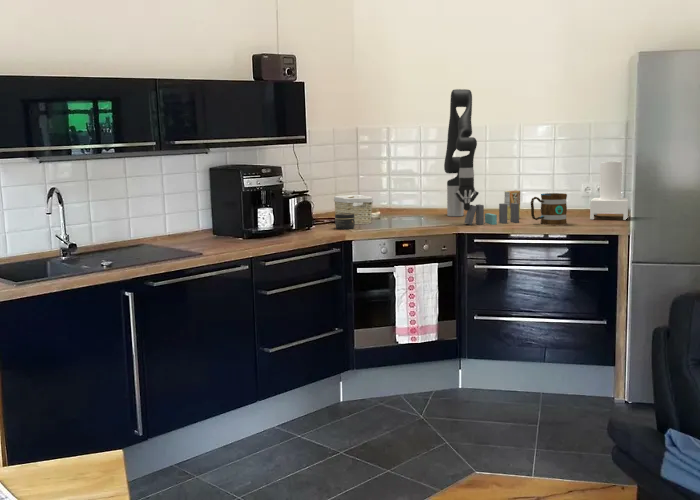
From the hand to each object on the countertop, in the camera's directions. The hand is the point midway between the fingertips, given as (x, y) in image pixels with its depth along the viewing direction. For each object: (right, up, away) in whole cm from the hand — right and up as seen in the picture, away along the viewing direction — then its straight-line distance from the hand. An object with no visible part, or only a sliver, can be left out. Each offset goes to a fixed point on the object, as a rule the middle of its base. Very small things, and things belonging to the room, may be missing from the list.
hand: (466, 210), depth 412 cm
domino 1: (+1, -7, +1) cm, 7 cm away
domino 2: (+7, -7, +2) cm, 10 cm away
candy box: (+28, -4, +24) cm, 38 cm away
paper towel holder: (+80, -3, +18) cm, 82 cm away
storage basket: (-58, -6, +23) cm, 63 cm away
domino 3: (+20, -6, +5) cm, 21 cm away
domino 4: (+26, -6, +6) cm, 28 cm away
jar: (-63, -10, -3) cm, 63 cm away
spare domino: (+14, -5, -1) cm, 15 cm away
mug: (+41, -7, -2) cm, 42 cm away
